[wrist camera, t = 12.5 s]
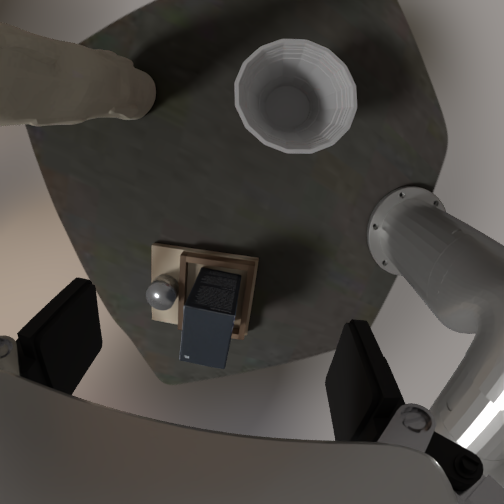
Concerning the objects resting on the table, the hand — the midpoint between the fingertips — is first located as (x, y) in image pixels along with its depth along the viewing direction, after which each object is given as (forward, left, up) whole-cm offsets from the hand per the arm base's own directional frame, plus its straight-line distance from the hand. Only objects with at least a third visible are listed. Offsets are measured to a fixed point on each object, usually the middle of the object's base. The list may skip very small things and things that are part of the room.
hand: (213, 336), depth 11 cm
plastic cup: (-3, -11, -31) cm, 33 cm away
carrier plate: (+5, +15, -30) cm, 34 cm away
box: (+3, +15, -30) cm, 33 cm away
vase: (+17, -11, -31) cm, 37 cm away
